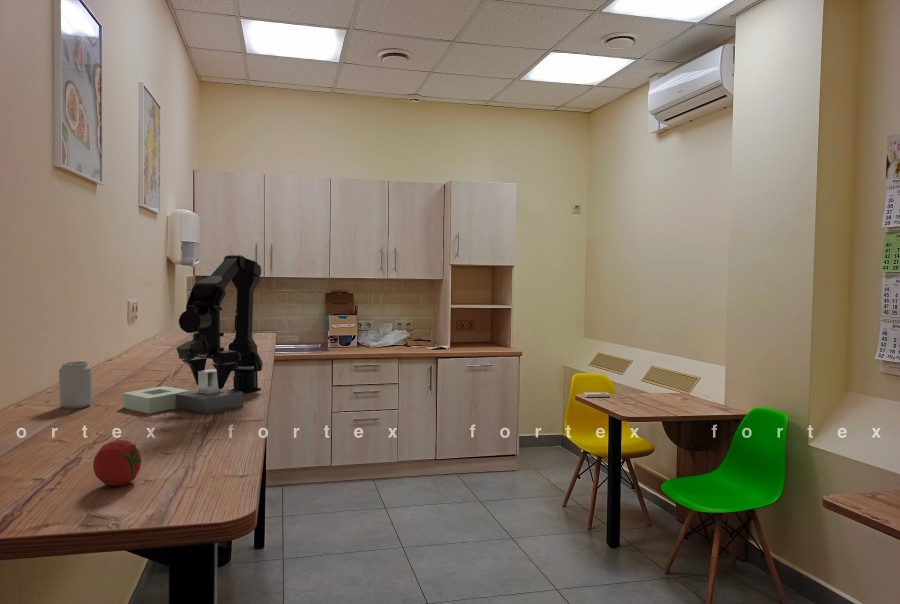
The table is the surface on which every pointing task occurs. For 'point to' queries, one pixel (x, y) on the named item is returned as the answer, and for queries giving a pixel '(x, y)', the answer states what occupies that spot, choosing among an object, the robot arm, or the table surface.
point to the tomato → (117, 463)
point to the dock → (152, 399)
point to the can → (75, 385)
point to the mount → (209, 401)
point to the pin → (208, 382)
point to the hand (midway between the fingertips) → (209, 386)
